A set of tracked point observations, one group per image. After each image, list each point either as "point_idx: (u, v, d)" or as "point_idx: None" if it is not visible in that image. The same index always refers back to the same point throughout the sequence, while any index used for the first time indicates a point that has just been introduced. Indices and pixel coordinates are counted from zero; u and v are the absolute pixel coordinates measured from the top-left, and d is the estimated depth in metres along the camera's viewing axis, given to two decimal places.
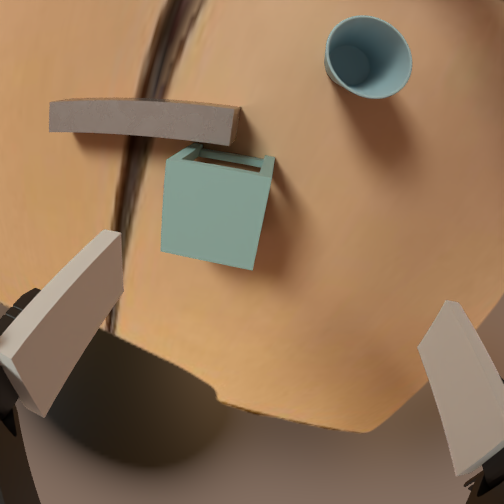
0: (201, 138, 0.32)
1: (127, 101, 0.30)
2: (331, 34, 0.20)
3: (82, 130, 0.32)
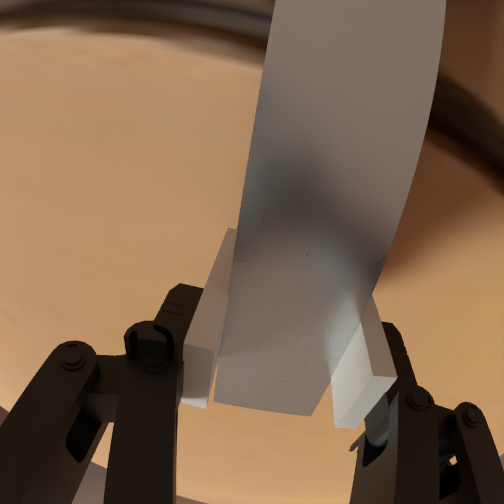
0: None
1: (271, 52, 0.06)
2: None
3: (356, 309, 0.09)
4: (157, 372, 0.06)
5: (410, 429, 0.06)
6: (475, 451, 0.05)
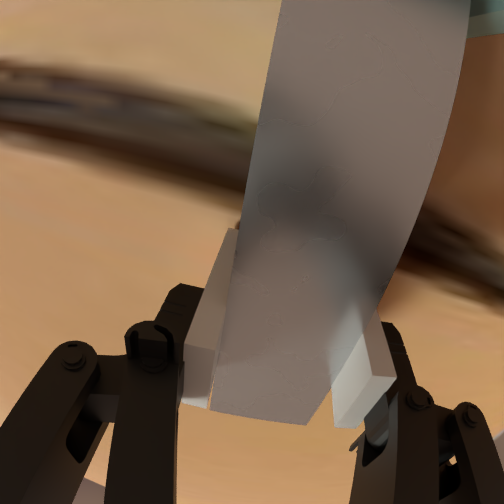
0: None
1: (275, 63, 0.05)
2: None
3: (355, 330, 0.09)
4: (157, 372, 0.06)
5: (410, 429, 0.06)
6: (475, 451, 0.05)
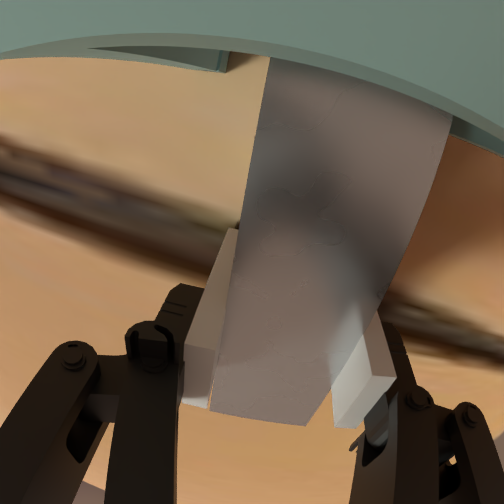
0: None
1: (275, 66, 0.05)
2: None
3: (355, 334, 0.08)
4: (158, 372, 0.06)
5: (410, 429, 0.06)
6: (475, 451, 0.05)
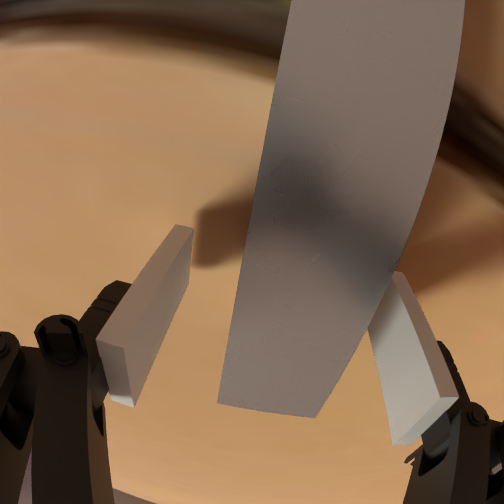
0: None
1: (288, 47, 0.06)
2: None
3: (366, 312, 0.09)
4: (69, 365, 0.06)
5: (468, 442, 0.05)
6: None
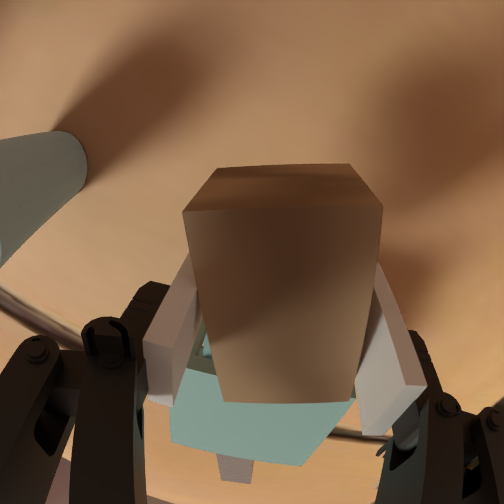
0: None
1: None
2: None
3: (249, 470, 0.31)
4: (115, 367, 0.06)
5: (438, 434, 0.06)
6: (496, 453, 0.05)
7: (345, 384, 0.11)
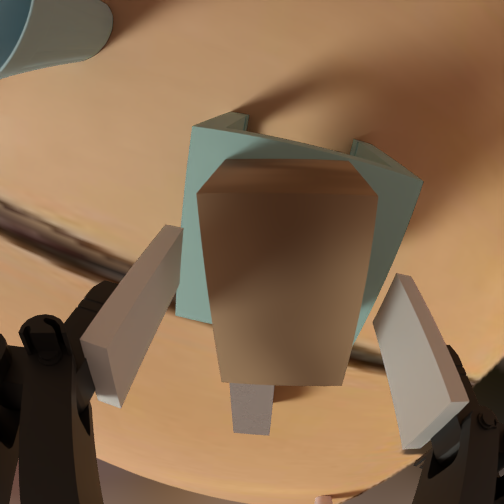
0: None
1: None
2: None
3: (269, 409, 0.28)
4: (53, 364, 0.06)
5: (478, 445, 0.05)
6: None
7: (339, 368, 0.11)
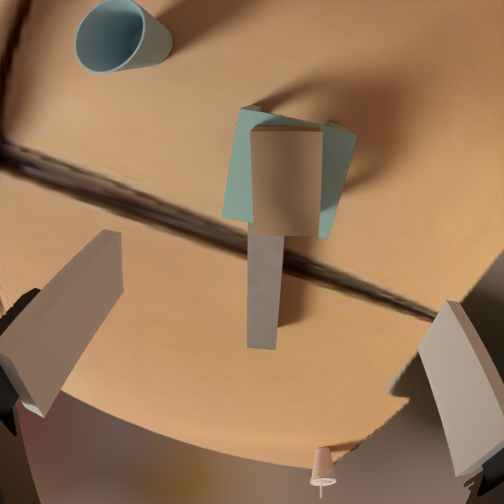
0: None
1: (248, 278, 0.38)
2: (93, 71, 0.22)
3: (276, 319, 0.40)
4: None
5: None
6: None
7: (315, 222, 0.24)
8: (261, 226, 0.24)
